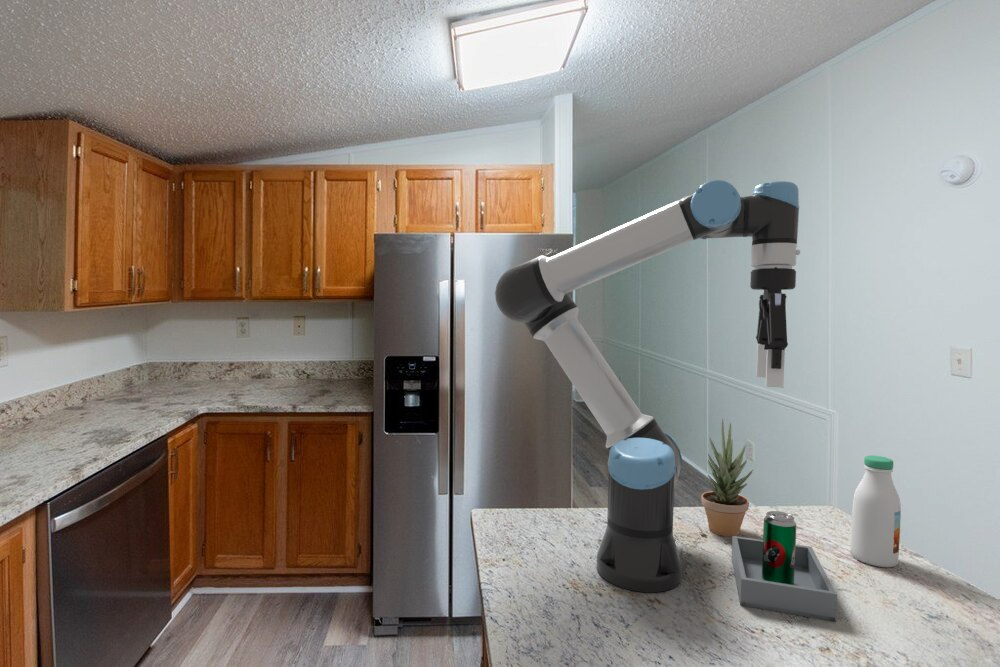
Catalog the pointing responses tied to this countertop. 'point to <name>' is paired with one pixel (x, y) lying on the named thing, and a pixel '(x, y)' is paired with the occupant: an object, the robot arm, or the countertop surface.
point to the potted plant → (726, 490)
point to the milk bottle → (876, 515)
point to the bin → (801, 598)
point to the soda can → (779, 547)
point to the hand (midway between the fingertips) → (768, 382)
